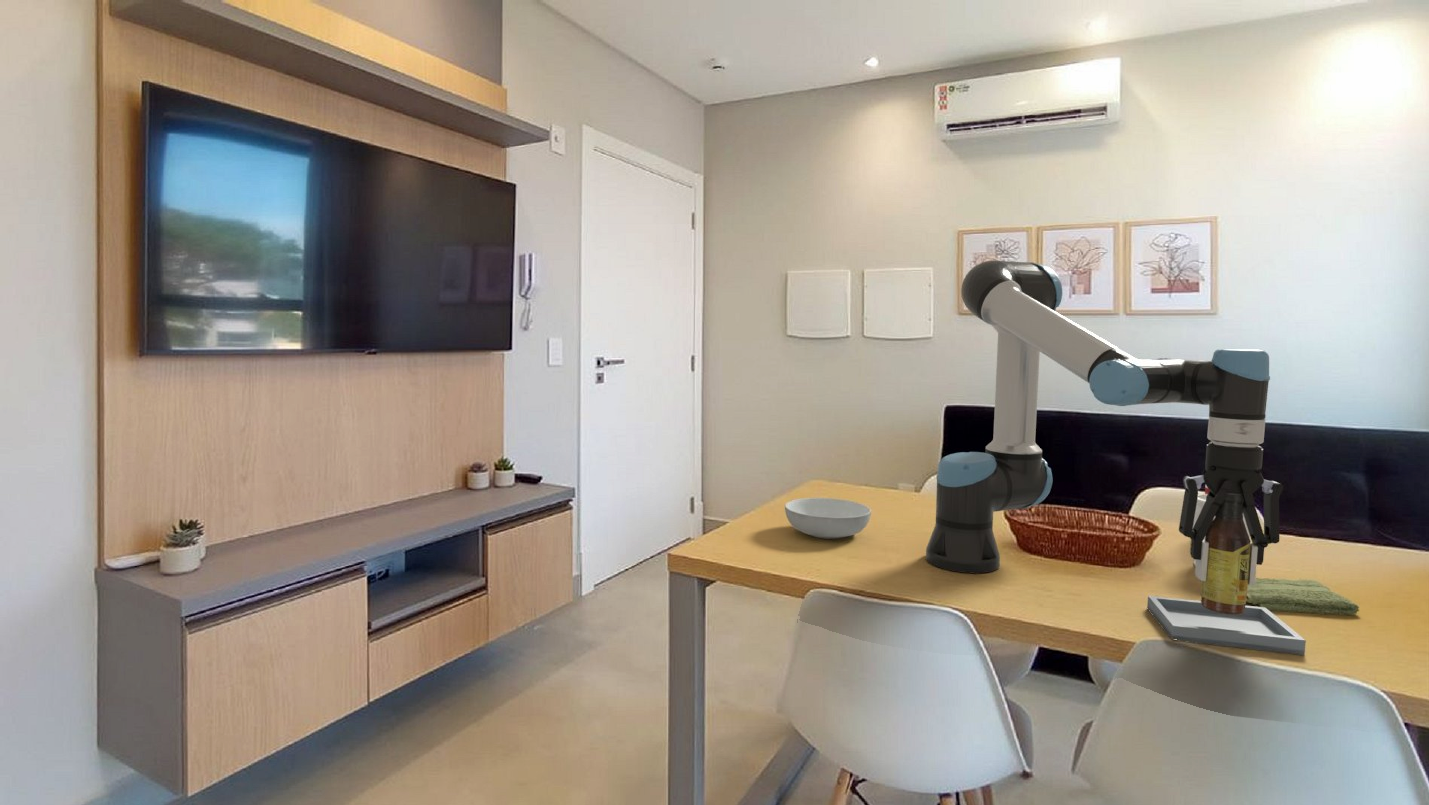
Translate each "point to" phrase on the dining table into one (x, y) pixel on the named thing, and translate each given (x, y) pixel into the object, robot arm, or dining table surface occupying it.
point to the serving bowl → (827, 517)
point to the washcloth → (1298, 597)
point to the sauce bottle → (1227, 559)
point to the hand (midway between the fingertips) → (1224, 580)
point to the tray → (1225, 626)
